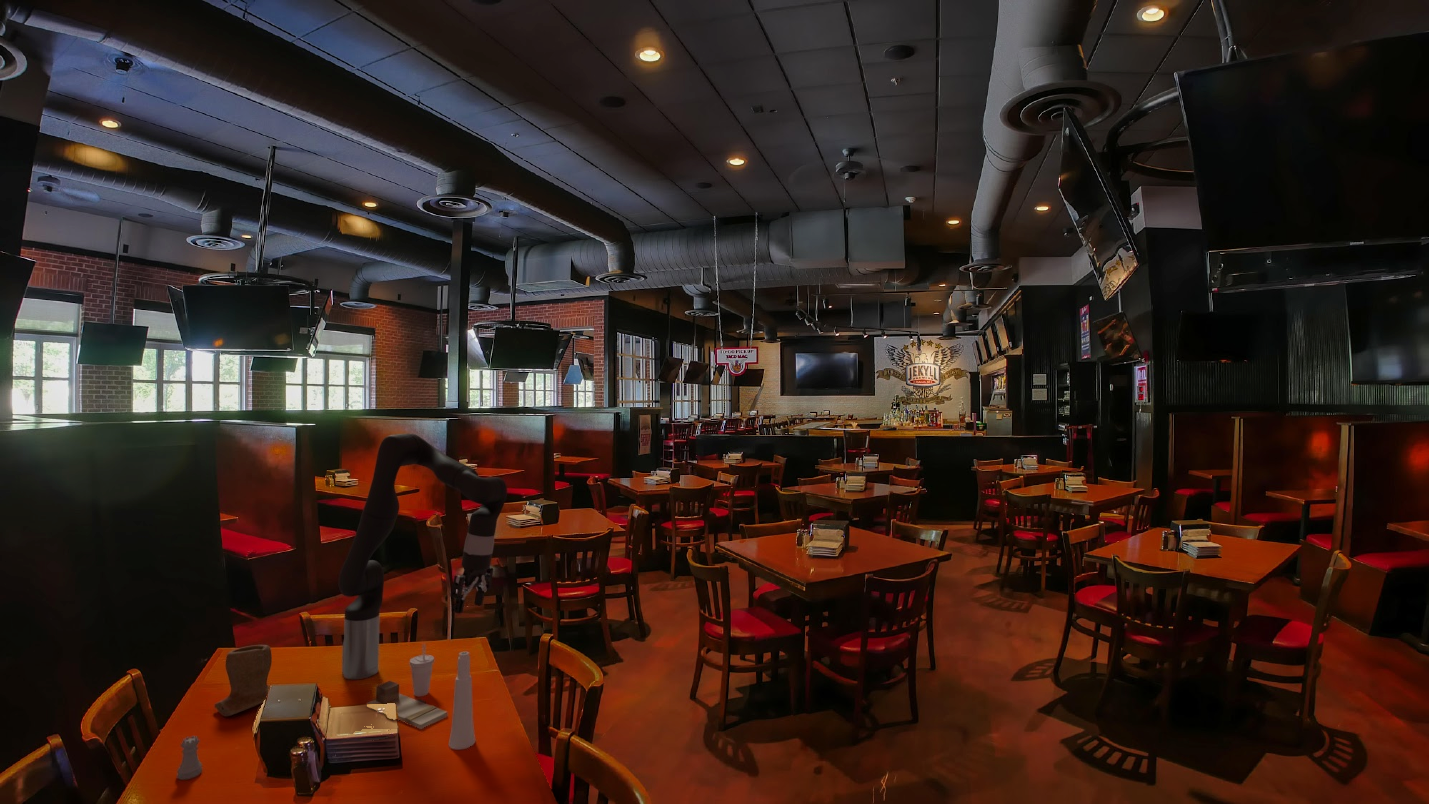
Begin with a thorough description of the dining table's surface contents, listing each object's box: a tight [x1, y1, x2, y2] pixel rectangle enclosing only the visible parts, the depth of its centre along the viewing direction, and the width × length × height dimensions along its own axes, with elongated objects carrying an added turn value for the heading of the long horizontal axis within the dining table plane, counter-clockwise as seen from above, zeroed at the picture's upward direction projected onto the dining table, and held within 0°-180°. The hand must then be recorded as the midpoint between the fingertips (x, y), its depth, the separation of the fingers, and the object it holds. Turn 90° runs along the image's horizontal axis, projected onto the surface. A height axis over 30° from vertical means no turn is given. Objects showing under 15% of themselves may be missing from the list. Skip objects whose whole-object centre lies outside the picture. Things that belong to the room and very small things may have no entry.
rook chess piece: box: [176, 735, 203, 781], centre depth 146 cm, size 4×4×8 cm
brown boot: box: [214, 644, 273, 717], centre depth 178 cm, size 15×12×15 cm
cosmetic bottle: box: [448, 651, 476, 751], centre depth 161 cm, size 6×6×22 cm
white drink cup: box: [408, 643, 435, 697], centre depth 187 cm, size 6×6×14 cm
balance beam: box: [366, 680, 448, 730], centre depth 176 cm, size 22×10×5 cm, turn 61°
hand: (468, 608), depth 182 cm, fingers open, 8 cm apart
